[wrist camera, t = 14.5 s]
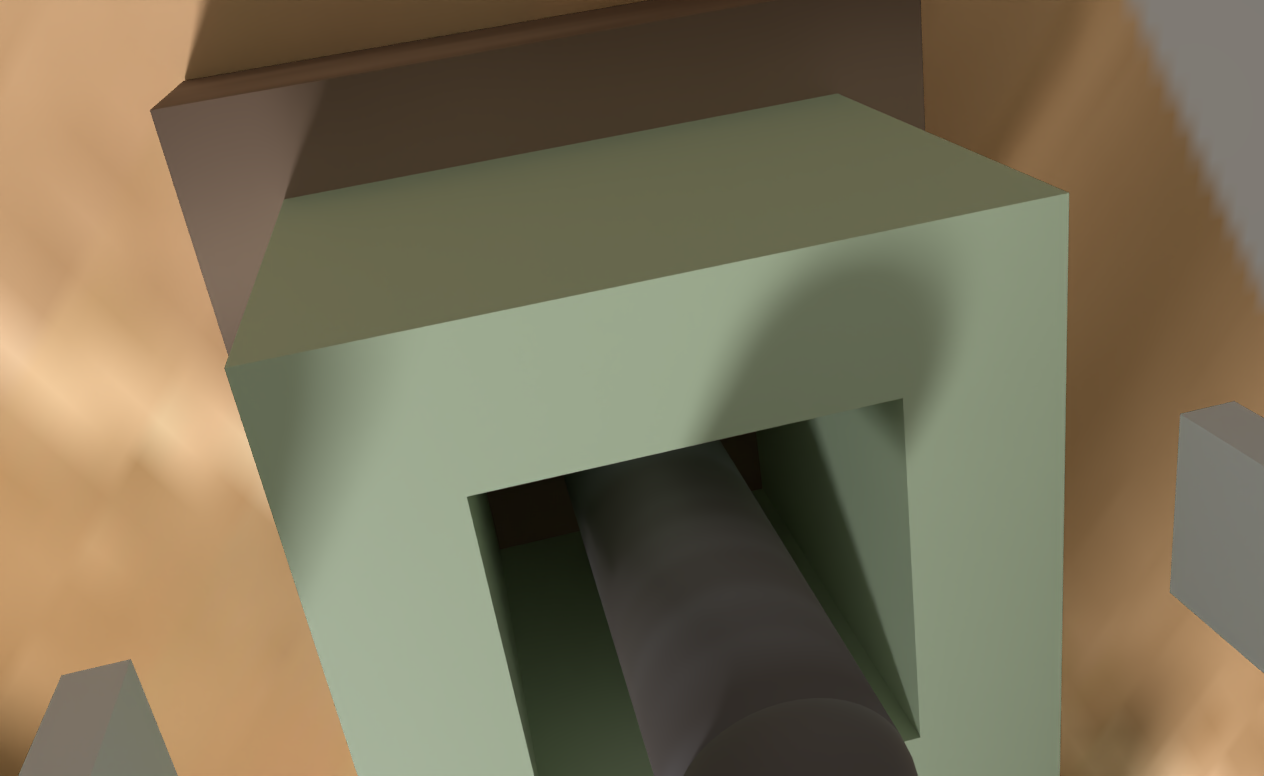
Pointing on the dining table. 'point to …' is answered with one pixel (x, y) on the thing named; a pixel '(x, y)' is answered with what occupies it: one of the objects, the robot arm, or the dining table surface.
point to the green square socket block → (670, 423)
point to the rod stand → (629, 490)
